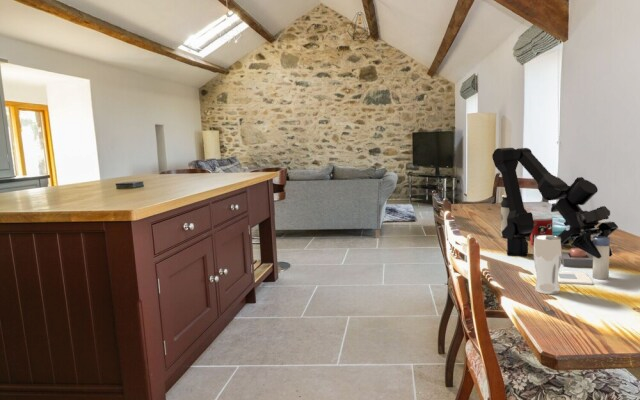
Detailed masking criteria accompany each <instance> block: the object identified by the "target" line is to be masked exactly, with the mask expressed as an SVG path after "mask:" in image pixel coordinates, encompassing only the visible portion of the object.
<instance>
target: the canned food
mask: <svg viewBox="0 0 640 400" xmlns="http://www.w3.org/2000/svg"><path fill="white" fill-rule="evenodd" d="M533 221H534V222H535V223H534V229H533V230H532V233H531V236H530V244H531V246H533V247H534V237H535V236H538V235H553V217H552V216H549V215H533Z"/></svg>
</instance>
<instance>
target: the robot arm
mask: <svg viewBox="0 0 640 400" xmlns="http://www.w3.org/2000/svg"><path fill="white" fill-rule="evenodd" d="M491 156H492V157H491V158H492V160H493V164H494V166H495V168H496V169H497V170H498V171H499V172H500V174H501V178H502V182H503V186H504V192H505V195H506V197H507V201H508V206H509V214H508V217H507V226H506V227H505V229H504V230H503V231H502V236H503V237H502V236H501V237H502V238H503V239H506V256H512V257H513V256H521V257H522V256H523V257H526V256H528V253H529V242H528V240H527V238H531V233H532V230H533V229H534V223H535V222H534V221H533V216H534V215H533V213H532V212H531V211H529V212H528V211H527V210H526V209H525V206H524V201H523V197H522V192H521V188H520V184H519V183H520V182H519V178H518V175H517V167H518V165H519V163H520V164H521V166H522V167H523V168H524V169H525V170H526V171H527V173H528V174H529V175H530V177H532V179H534V181H535V182H536V183H537V190H538V191H539V193H540V194H541V196H542V198H543V199H544V200H545V201H556V200H557V201H556V202H554V203H552V204H551V208H550V212H551V213H557V212H559V214H560V216H561V217H562V219H564V223H563V225H564V226H565V227H566V228H564V229H563V231H561V232H560V234H558V235H557V236H558V237H561V244H562V246H567V245H569V244H570V239H572V241H573V242H572V243H571V244H570V246H572V247H574V248H579V249H581V250H583V251H585V252H587V253H589V254H591V255H593V256H594V257H596V258H598V259H599V258H601V255H600V253H599V251H598V250H597V248H596V247H595V245H594V244H593V237H595V236H604V237H610V235H612V234H613V233H614V232H615V231H616V230H617V229H618V228H619V226H618V225H617V223H616V222H615V221H604V222H601V223H600V221H603V220H608V219H609V217H610V216H611V210H610V209H608V208H607V207H606V206H605V205H603V206H600V207H597V208H595V209H592V210H589V211H588V210H583V209H582V208H581V206H584V205H585V204H587V203H588V201H590V200H591V199H592V198H593V197H594V196H595V195H596V194H597V193H598V190H599V189H598V186H597V185H596V184H595V183H593V182H592V181H590V180H587V179H585V178H584V177H582V176H581V177H580V176H579V177H576V179H574V181H573V182H572V184H570V185H568V183H567V182H566V181H564V180H563V179H562V178H560V177H558V176H556V175H553V174H552V173H550V172H549V170H547V168H546V167H545V166H544V165H543V164H542V163H541V162H540V161H539V159H538V158H537V157H536V155H534V154H533V152H532V150H531V149H530V148H528V147H520V148H516V149H515V148H514V147H500V148H496V149H495V150H494V151H493V153H492V155H491ZM597 225H598V226H597ZM567 226H569V227H567ZM596 226H597V227H596ZM610 245H611V244H610ZM610 245H609V258H610V257H612V256H613V252H612V248H611V246H610Z"/></svg>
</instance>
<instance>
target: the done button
mask: <svg viewBox="0 0 640 400" xmlns="http://www.w3.org/2000/svg"><path fill="white" fill-rule="evenodd" d="M570 252H571V254H570V257H576V258H586V252H585V251H583V250H581V249H579V248H577V247H572V248H570Z"/></svg>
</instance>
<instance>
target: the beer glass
mask: <svg viewBox="0 0 640 400" xmlns="http://www.w3.org/2000/svg"><path fill="white" fill-rule="evenodd" d="M562 247H563V245H562V244H561V237H558V235H553V234H552V235H538V236H535V237H534V246H533V248H532V249H533V252H532V256H533V262H534V268H535V272H536V273H535V274H536V281H535V286H534V290H535V292H537V293H540V294H545V295H556V294H559V293H560V291H561V289H560V285H559V284H560V283H558V275H559V271H561V270H560V269H561V265H562V263H561V259H562V252H563V248H562Z"/></svg>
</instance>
